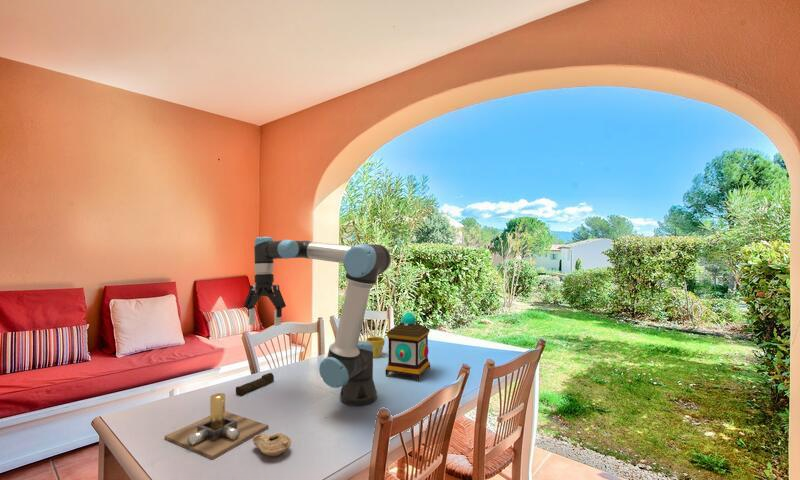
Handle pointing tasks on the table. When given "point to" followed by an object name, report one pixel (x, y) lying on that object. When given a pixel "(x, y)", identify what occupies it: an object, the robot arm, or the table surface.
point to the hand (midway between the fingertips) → (264, 324)
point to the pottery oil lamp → (272, 443)
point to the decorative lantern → (408, 347)
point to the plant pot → (376, 345)
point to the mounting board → (221, 445)
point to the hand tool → (255, 384)
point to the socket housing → (215, 432)
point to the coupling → (217, 411)
